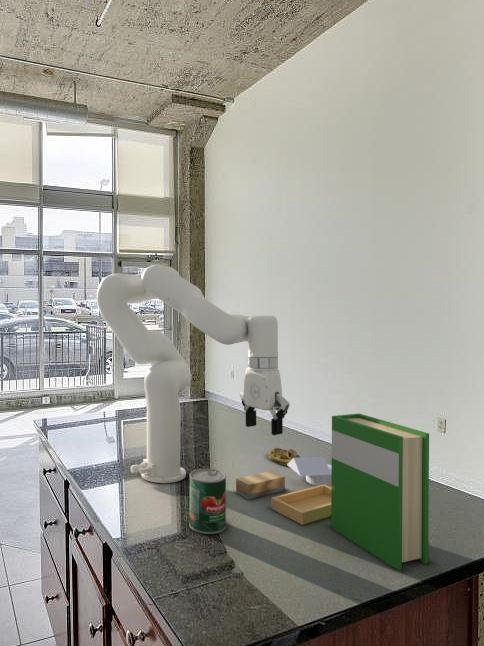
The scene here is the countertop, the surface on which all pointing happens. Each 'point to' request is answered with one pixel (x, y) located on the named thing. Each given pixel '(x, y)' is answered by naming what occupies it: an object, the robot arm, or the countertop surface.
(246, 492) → the eraser
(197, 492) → the canned tomato
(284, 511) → the holder
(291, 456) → the yellow-brown textured oval
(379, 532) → the hardback book
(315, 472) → the wedge on round base
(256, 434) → the countertop surface
